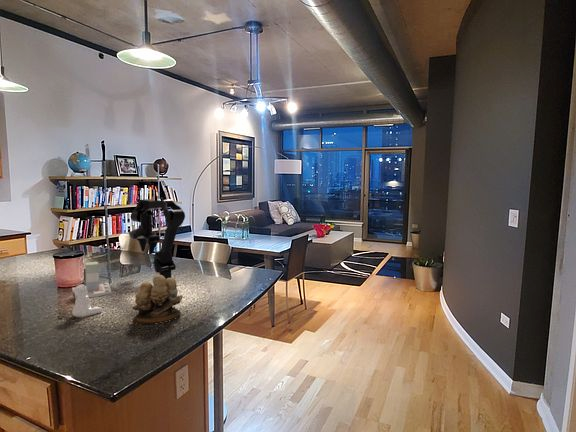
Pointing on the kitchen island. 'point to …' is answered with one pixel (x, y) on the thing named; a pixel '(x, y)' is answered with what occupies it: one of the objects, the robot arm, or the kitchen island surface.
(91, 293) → the baseplate
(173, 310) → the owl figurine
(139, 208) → the robot arm
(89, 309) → the seated beast figurine
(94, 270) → the grey green upright block
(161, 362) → the kitchen island surface
